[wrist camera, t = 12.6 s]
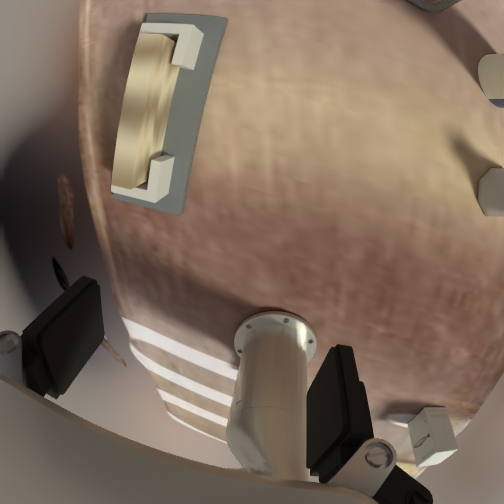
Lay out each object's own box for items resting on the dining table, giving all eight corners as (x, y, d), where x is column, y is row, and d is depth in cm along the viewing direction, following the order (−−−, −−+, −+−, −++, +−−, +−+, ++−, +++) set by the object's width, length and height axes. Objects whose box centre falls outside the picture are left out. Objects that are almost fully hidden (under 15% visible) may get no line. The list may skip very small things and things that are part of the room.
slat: (157, 175, 34) (130, 189, 28) (140, 171, 34) (111, 185, 28) (185, 47, 27) (161, 33, 21) (166, 46, 27) (139, 33, 21)
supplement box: (424, 406, 50) (436, 452, 39) (446, 406, 50) (459, 449, 39) (406, 424, 53) (415, 467, 42) (428, 423, 53) (438, 464, 42)
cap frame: (182, 213, 37) (168, 227, 32) (116, 196, 37) (96, 207, 32) (228, 20, 26) (218, 6, 21) (151, 15, 26) (133, 4, 21)
